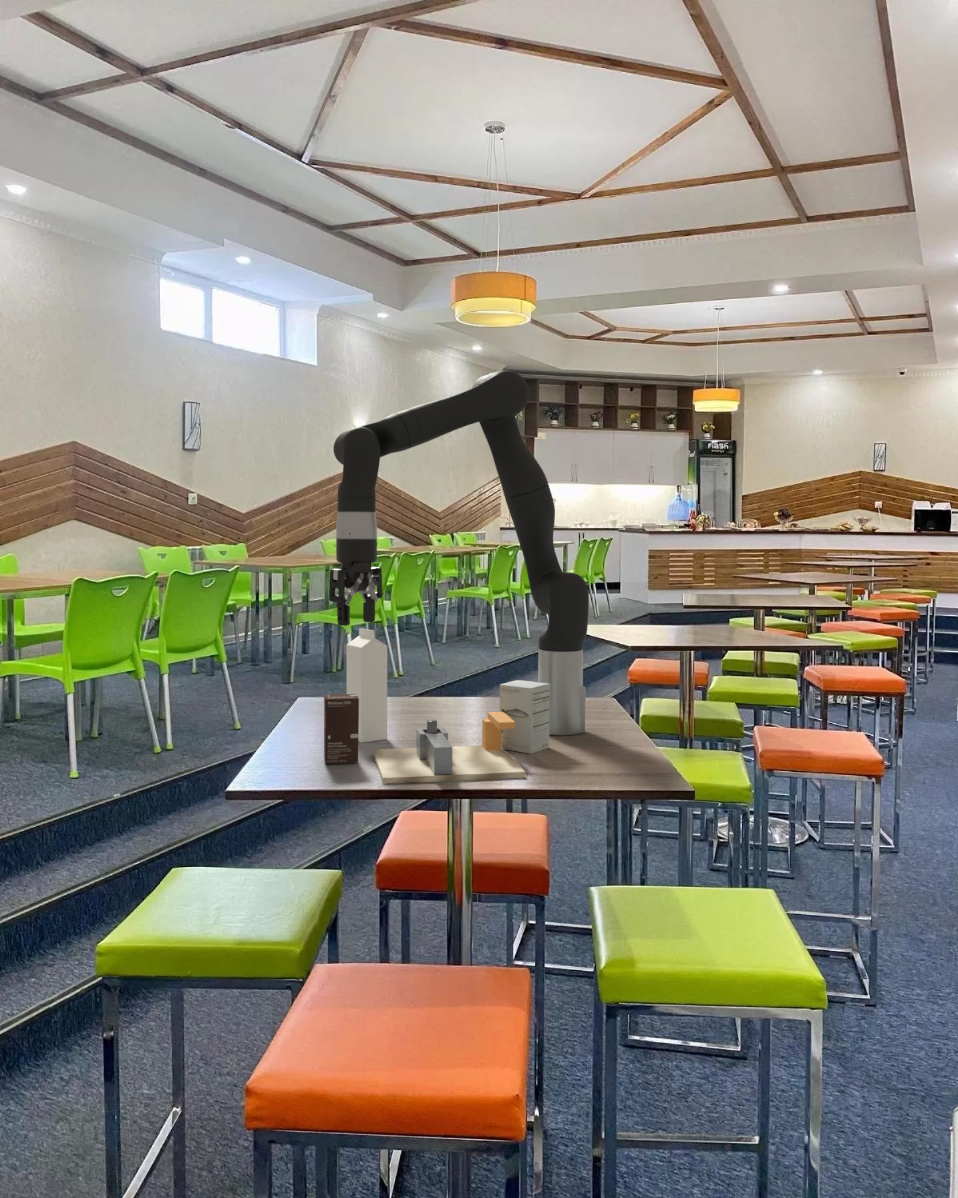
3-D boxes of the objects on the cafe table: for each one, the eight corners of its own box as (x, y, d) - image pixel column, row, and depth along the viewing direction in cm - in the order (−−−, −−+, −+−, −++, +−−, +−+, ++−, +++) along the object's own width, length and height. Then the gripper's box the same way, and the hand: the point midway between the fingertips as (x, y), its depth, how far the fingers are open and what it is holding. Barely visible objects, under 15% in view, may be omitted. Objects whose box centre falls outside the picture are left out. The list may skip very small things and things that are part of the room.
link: (416, 753, 173) (416, 728, 173) (443, 752, 174) (443, 727, 174) (428, 774, 158) (428, 748, 157) (458, 773, 159) (458, 746, 158)
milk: (361, 743, 187) (360, 631, 185) (346, 738, 192) (345, 628, 190) (388, 739, 191) (387, 629, 189) (372, 734, 196) (371, 627, 194)
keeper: (503, 751, 181) (503, 711, 180) (514, 763, 171) (515, 722, 170) (482, 751, 180) (482, 712, 179) (493, 764, 170) (493, 722, 170)
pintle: (442, 758, 174) (442, 718, 174) (445, 764, 170) (445, 722, 169) (418, 759, 173) (418, 719, 173) (421, 765, 169) (421, 723, 168)
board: (499, 749, 182) (499, 744, 181) (525, 777, 161) (525, 771, 161) (372, 754, 177) (372, 749, 177) (383, 784, 156) (383, 778, 156)
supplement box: (497, 749, 182) (497, 683, 181) (518, 742, 188) (518, 679, 187) (530, 754, 178) (531, 687, 177) (550, 747, 184) (551, 682, 183)
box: (325, 765, 169) (325, 698, 168) (323, 760, 173) (323, 694, 172) (359, 764, 170) (359, 697, 169) (357, 758, 174) (356, 693, 173)
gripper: (352, 536, 169) (352, 627, 170) (393, 537, 182) (393, 621, 183) (317, 536, 173) (317, 625, 174) (360, 536, 185) (360, 619, 186)
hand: (356, 623), depth 178 cm, fingers open, 8 cm apart
